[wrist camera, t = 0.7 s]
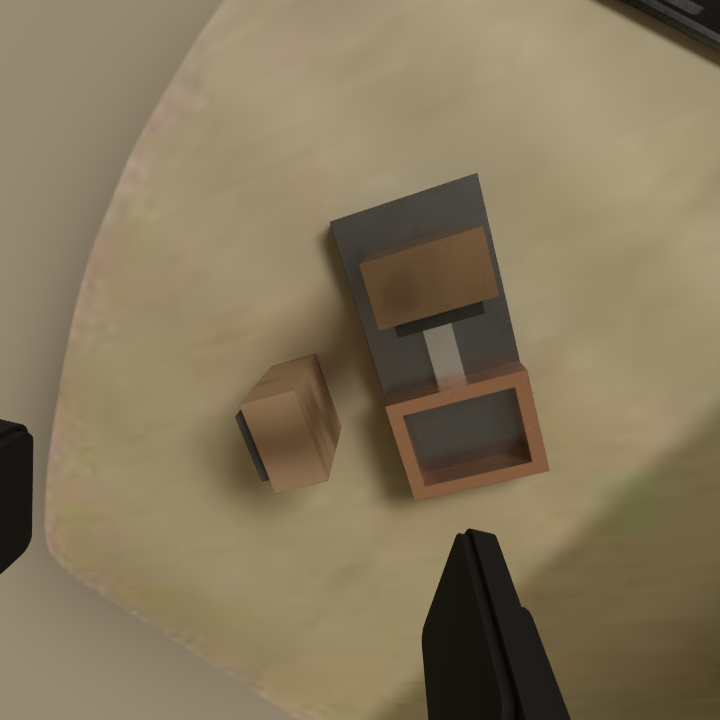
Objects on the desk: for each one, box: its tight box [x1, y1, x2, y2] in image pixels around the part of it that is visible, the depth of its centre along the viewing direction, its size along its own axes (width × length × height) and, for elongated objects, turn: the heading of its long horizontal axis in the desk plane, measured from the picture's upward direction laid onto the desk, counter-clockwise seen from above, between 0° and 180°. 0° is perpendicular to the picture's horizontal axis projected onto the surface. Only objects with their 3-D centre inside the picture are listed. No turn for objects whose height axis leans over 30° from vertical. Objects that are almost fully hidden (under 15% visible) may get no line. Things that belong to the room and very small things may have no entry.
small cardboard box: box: [235, 354, 341, 494], centre depth 32 cm, size 6×4×8 cm
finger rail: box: [330, 173, 549, 501], centre depth 29 cm, size 22×10×10 cm, turn 17°
